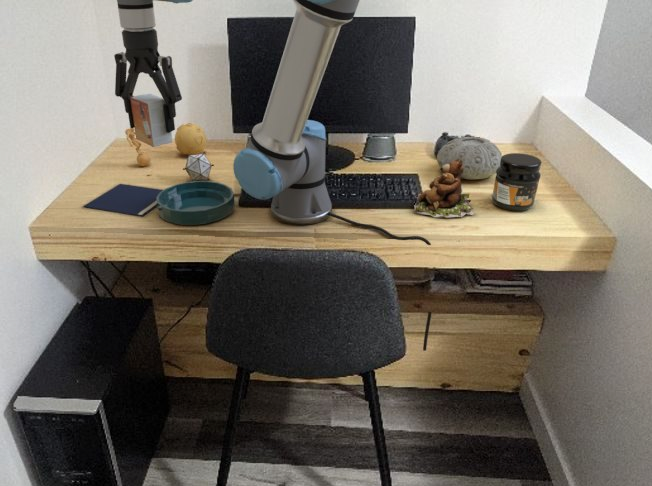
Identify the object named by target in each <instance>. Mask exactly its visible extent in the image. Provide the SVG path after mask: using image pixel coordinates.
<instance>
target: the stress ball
mask: <svg viewBox="0 0 652 486" xmlns="http://www.w3.org/2000/svg"><path fill="white" fill-rule="evenodd" d="M174 143H175V146H176V149H177V151H178V152H180V154H183V155H186V156H187V154H189V155H197V154H201V152H203V150H204V149H205V148H206V146H207V135H206V133H205V131H204V130H203V128H202V127H201V126H199V125H197V124H195V123H191V122H190V123H189V122H188V123H182V124H181V125H180V126H178V127H177V129H176V132H175V134H174Z"/></svg>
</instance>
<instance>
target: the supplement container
mask: <svg viewBox="0 0 652 486" xmlns="http://www.w3.org/2000/svg"><path fill="white" fill-rule="evenodd" d="M541 167H542V160H541V158H539V157H537V156H534V155H531V154H528V153H520V152H511V153H506V154H502V157H501V160H500V167H498V169H497V170H496V173H495V179H494V184H493V189H492V194H491V201H492V203H493V204H494V205H495V206H497V207H498V208H501V209H503V210H507V211H511V212H513V211H514V212H522V211H527V210H530V209H531V208H533V206H534V204H535V202H536V196H537V193H538V188H539V184H540V183H539V182H540V180H541V177H542V174H541V172H540V170H541Z"/></svg>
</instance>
